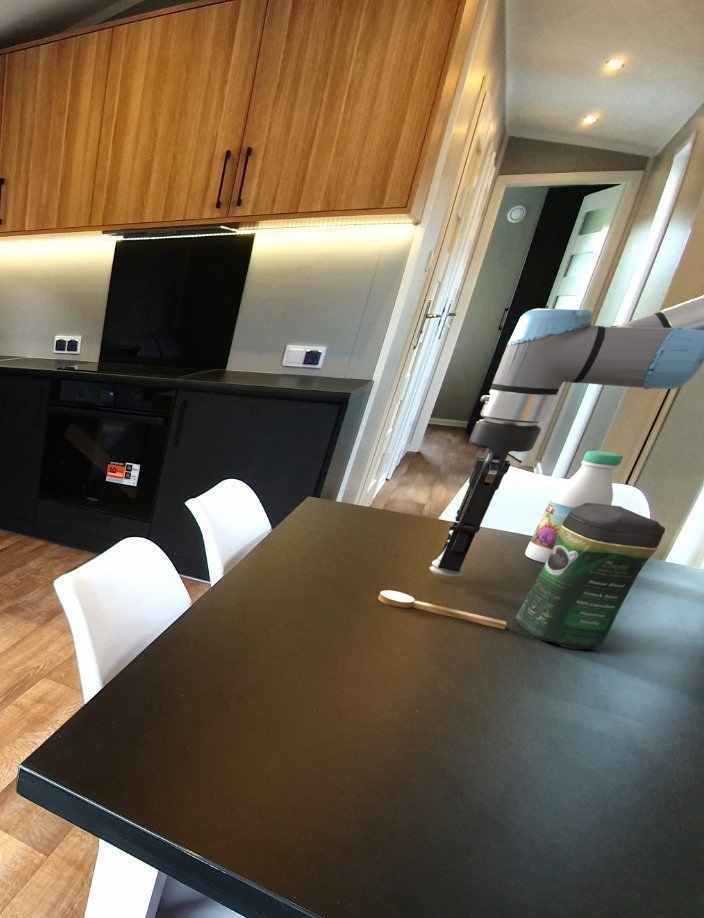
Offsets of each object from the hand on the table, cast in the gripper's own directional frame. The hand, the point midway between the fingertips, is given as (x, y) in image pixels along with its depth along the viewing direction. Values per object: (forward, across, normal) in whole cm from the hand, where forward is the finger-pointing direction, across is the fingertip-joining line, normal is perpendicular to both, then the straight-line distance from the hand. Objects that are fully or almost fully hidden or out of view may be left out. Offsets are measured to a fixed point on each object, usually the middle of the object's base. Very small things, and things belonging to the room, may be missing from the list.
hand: (448, 564), depth 105 cm
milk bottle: (+3, -28, +16) cm, 33 cm away
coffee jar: (+3, +14, +13) cm, 19 cm away
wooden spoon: (+3, +16, -1) cm, 16 cm away
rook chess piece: (+2, 0, 0) cm, 2 cm away
